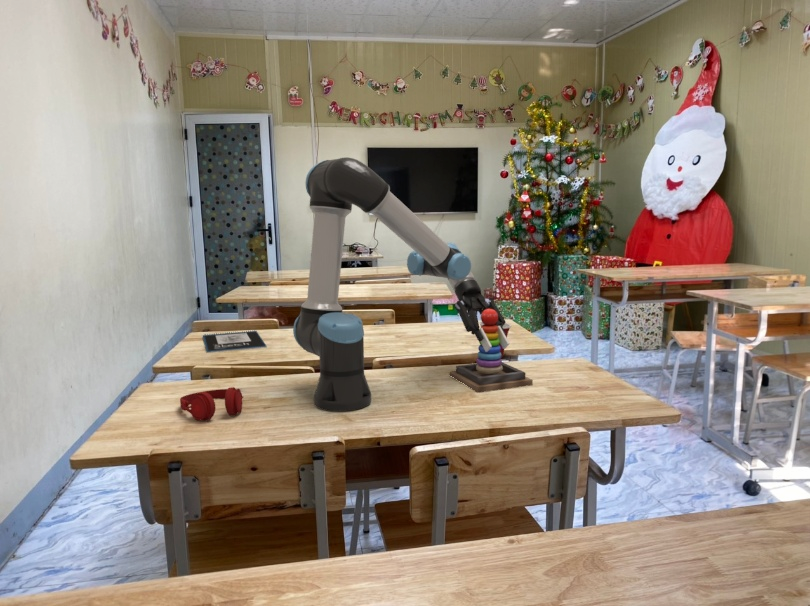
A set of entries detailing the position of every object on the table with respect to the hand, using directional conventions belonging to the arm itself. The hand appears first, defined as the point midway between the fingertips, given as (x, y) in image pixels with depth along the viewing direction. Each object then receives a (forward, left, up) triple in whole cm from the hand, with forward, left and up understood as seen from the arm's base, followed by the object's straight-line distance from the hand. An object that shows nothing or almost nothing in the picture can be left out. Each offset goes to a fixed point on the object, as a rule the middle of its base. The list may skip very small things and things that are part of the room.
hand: (497, 347), depth 172 cm
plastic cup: (+16, +28, -11) cm, 33 cm away
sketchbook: (-65, +91, -12) cm, 113 cm away
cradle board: (0, +4, -11) cm, 11 cm away
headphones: (-79, +10, -11) cm, 81 cm away
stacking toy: (-1, +4, -8) cm, 9 cm away
